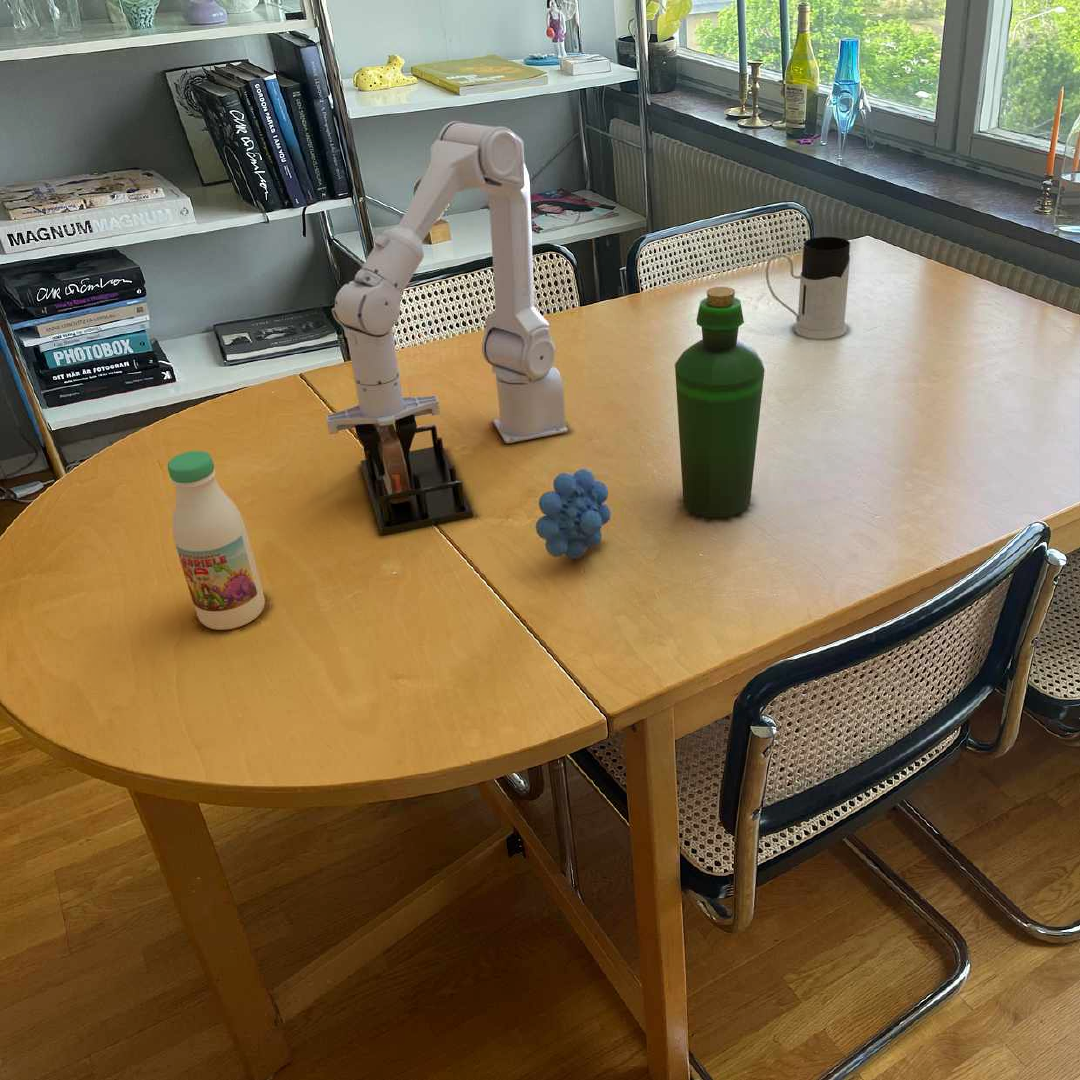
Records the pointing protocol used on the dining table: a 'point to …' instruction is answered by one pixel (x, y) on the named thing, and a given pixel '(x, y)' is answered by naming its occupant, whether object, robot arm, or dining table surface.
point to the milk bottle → (213, 546)
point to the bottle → (718, 410)
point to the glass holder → (821, 287)
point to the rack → (419, 490)
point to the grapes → (573, 514)
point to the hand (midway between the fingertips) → (392, 470)
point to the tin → (392, 462)
